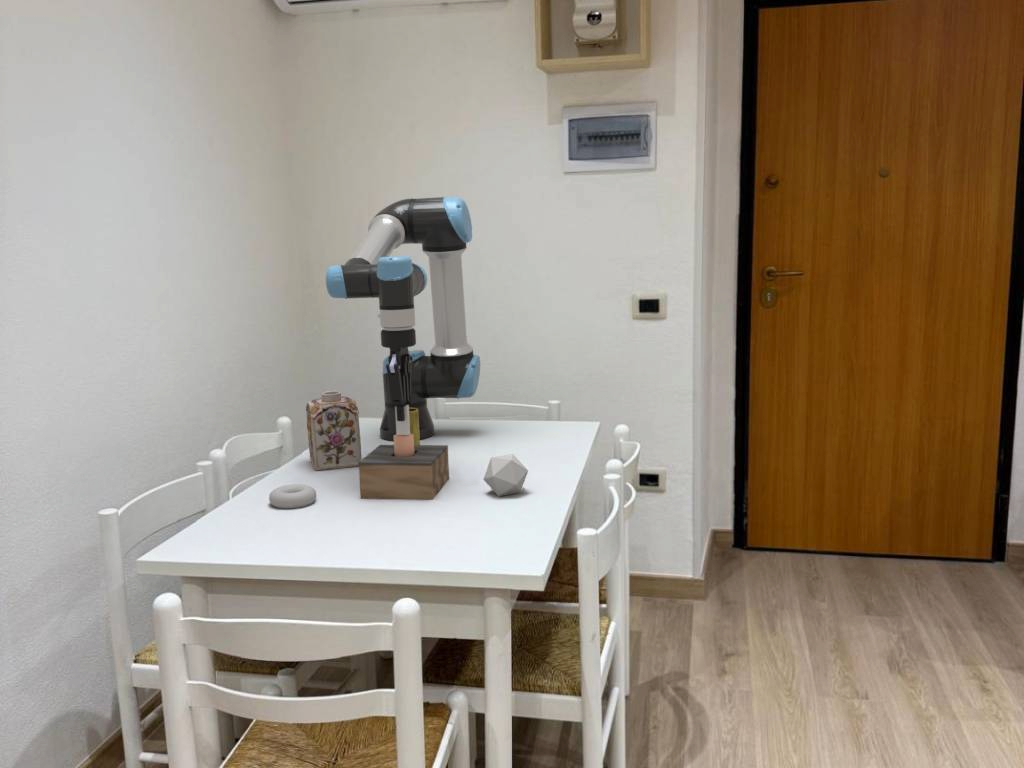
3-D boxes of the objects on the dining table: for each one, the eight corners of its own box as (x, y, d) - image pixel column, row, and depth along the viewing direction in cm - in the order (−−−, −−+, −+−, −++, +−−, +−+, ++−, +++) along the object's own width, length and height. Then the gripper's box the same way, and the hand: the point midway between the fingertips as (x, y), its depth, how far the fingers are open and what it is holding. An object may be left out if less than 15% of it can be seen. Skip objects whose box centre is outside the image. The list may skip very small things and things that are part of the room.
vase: (418, 470, 229) (415, 412, 227) (394, 470, 230) (390, 412, 228) (425, 464, 235) (423, 407, 233) (401, 463, 236) (398, 407, 234)
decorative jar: (355, 455, 246) (351, 386, 243) (363, 466, 235) (358, 394, 232) (308, 460, 243) (303, 390, 240) (313, 471, 232) (308, 398, 229)
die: (517, 487, 215) (489, 453, 214) (542, 474, 209) (513, 439, 208) (498, 510, 209) (468, 475, 208) (523, 497, 203) (493, 461, 202)
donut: (311, 495, 213) (265, 500, 209) (311, 480, 212) (265, 485, 209) (321, 507, 204) (273, 513, 200) (320, 491, 203) (272, 497, 199)
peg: (398, 466, 216) (396, 433, 215) (417, 466, 216) (415, 433, 214) (392, 471, 212) (391, 437, 211) (412, 471, 211) (410, 437, 210)
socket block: (382, 478, 224) (380, 444, 222) (449, 479, 221) (447, 445, 220) (360, 498, 208) (358, 462, 207) (432, 499, 205) (430, 463, 204)
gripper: (389, 325, 215) (395, 428, 219) (372, 331, 203) (378, 441, 207) (422, 324, 214) (427, 428, 218) (406, 331, 201) (412, 441, 205)
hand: (403, 434), depth 212 cm, fingers closed
